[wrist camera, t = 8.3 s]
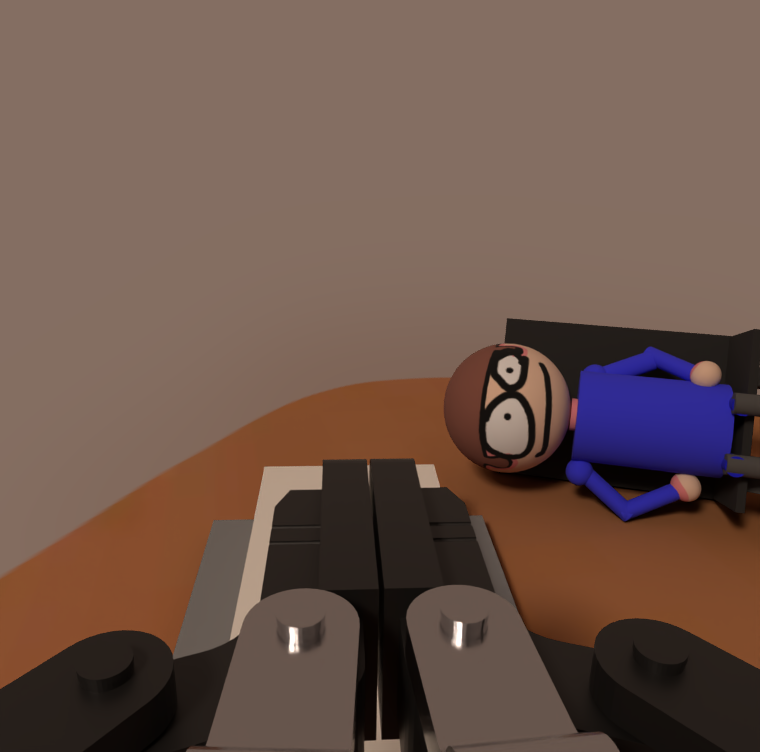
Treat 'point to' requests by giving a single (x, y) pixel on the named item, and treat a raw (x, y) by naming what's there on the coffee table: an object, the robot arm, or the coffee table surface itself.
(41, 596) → the coffee table surface
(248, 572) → the standing tile
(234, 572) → the rubber mat
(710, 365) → the character figurine
